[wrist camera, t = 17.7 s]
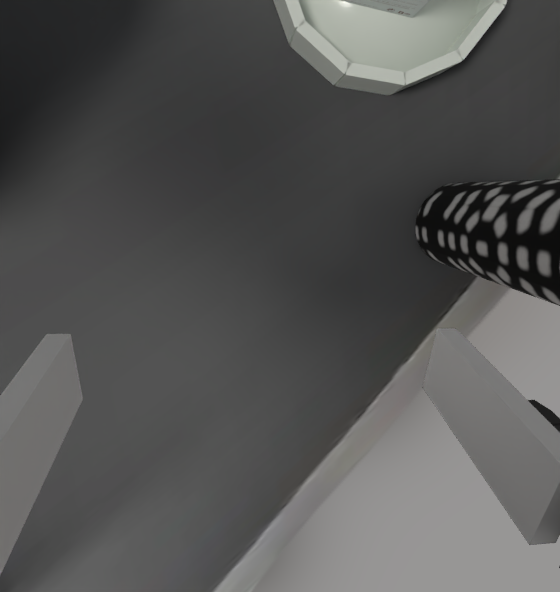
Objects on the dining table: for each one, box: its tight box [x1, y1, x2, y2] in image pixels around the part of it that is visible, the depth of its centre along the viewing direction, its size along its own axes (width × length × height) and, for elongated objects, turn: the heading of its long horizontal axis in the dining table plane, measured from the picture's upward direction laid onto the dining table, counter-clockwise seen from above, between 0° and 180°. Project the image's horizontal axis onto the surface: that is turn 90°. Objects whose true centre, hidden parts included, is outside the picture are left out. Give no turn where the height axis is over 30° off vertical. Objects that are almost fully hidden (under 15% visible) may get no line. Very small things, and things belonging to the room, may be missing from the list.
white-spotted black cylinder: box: [416, 179, 560, 306], centre depth 34 cm, size 8×8×20 cm
